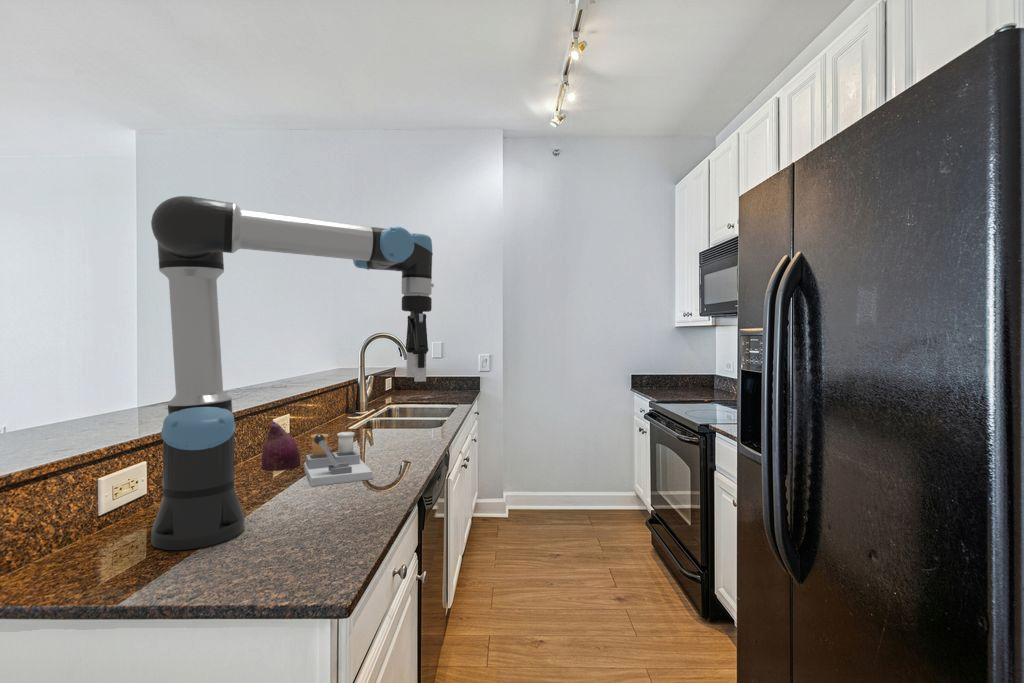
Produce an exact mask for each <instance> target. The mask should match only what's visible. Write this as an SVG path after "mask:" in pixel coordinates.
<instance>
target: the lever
mask: <svg viewBox="0 0 1024 683" xmlns="http://www.w3.org/2000/svg"><path fill="white" fill-rule="evenodd" d="M317 434H318V435H316V436H315V438H314V442H315V443H316V444H320V446H321V447H322V449H323V450H324V452H325V453H326V455H327V457H328V458H329V460H330V461H331V463H332V464H333V466H334V467H335V468H339V467H340V466H339V464H338V463H337V461H336V460H335V458H334V456H333V455H332V453H333V452H332V451H330V449H329V447H328V445H327V446H326V444H325V442H324V441H325V437H324V436H323V435H321V434H322V433H317Z"/></svg>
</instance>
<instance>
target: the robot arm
mask: <svg viewBox="0 0 1024 683" xmlns="http://www.w3.org/2000/svg"><path fill="white" fill-rule="evenodd" d="M150 222H151V223H150V224H151V231H152V234H153V237H154V238H155V240H156V242H157V253H158V254H157V255H158V256H157V257H158V270H159V272H160V273H161V274H162V275H163V276H165V277H166V278H167V279H168V286H169V287H168V288H169V289H168V290H169V303H170V305H169V306H170V307H169V308H170V320H171V322H170V323H171V335H172V351H173V352H172V353H173V366H174V368H173V369H174V383H175V395H174V396H173V397H172V398H171V399H170V400H169V401H168V403H167V415H166V416H165V418H164V420H163V422H162V428H161V433H160V434H161V435H160V436H161V438H162V500H161V503H160V506H159V508H158V512H157V514H156V517H155V519H154V521H153V525H152V528H151V532H150V533H151V534H150V536H151V537H150V544H151V546H152V547H153V548H156V549H159V550H165V551H186V550H194V549H200V548H206V547H211V546H213V545H219V544H221V543H225V542H227V541H229V540H231V539H234V538H236V537H238V536H239V535H241V533H243V531H244V530H245V515H244V511H243V509H242V506H241V503H240V501H239V499H238V495H237V493H236V490H235V489H236V488H235V432H236V428H237V427H236V426H237V425H236V421H235V416H234V414H233V403H232V401H233V400H232V396H230V394H228V393H226V391H225V390H224V385H223V384H224V383H223V382H224V381H223V368H222V367H223V366H222V352H221V350H222V349H221V334H220V333H221V332H220V330H221V329H220V317H219V316H220V315H219V301H218V300H219V299H218V286H217V285H218V282H217V281H218V279H219V277H220V276H222V275H223V273H224V271H225V267H224V266H225V264H224V253H226V254H227V253H229V254H233V253H234V254H235V252H237V251H238V250H241V249H242V250H252V251H260V252H261V251H262V252H272V253H281V254H282V253H283V254H284V253H285V254H292V255H293V254H295V255H304V256H313V257H325V258H335V259H346V260H352V261H353V265H354V267H356V268H357V269H365V270H376V271H377V270H379V271H394V272H401V295H403V296H402V297H401V310H402V311H403V312H410V314H409V315H407V328H406V341H405V347H404V348H405V350H406V375H405V376H406V378H414V380H413V381H414V382H417V383H418V382H427V353H428V352H429V344H428V331H427V329H428V328H427V314H426V313H428V312H431V311H432V309H433V308H432V297H431V295H432V290H433V289H432V288H434V286H435V285H434V283H432V279H433V278H432V277H433V275H432V274H433V272H432V271H433V255H434V254H433V241H432V238H431V236H429V235H427V234H424V233H417V232H416V233H411V232H410V231H408V230H407V229H406V228H404V227H401V226H390V227H388V228H383V227H375V226H368V225H367V226H366V225H359V224H352V223H344V222H337V221H329V220H324V219H316V218H307V217H300V216H292V215H285V214H280V213H279V214H278V213H271V212H270V213H269V212H261V211H256V210H248V209H242V208H240V207H239V205H237V204H236V203H235V202H228V201H221V200H217V199H210V198H204V197H197V196H192V195H191V196H190V195H182V196H181V195H180V196H179V195H178V196H174V197H170V198H168V199H166V200H164V201H162V202H161V203H159V204H158V205H157V207H156V208H155V210H154V211H153V214H152V216H151V221H150Z"/></svg>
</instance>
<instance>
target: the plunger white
mask: <svg viewBox="0 0 1024 683" xmlns="http://www.w3.org/2000/svg"><path fill="white" fill-rule="evenodd" d="M336 434H337V437H338V438H337V439H338V444H337V445H338V446H337V447H338V448H337V449H338V450H337V452H342V453H345V452H352V451H354V436H355V432H354V431H340V432H338V433H336Z"/></svg>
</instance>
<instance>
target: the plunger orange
mask: <svg viewBox="0 0 1024 683" xmlns="http://www.w3.org/2000/svg"><path fill="white" fill-rule="evenodd" d="M318 434H319V433H314V434H310V439H311V455H323V454H326V453H325V452H324V450H323V449H322V447H321V446H320V444H316V443H315V442H314V438H315V436H316V435H318ZM320 434H321V435H323V436H324V437H325V441H324V442H325V444H326V446H327V447H328V438H329V434H328V433H320Z"/></svg>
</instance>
